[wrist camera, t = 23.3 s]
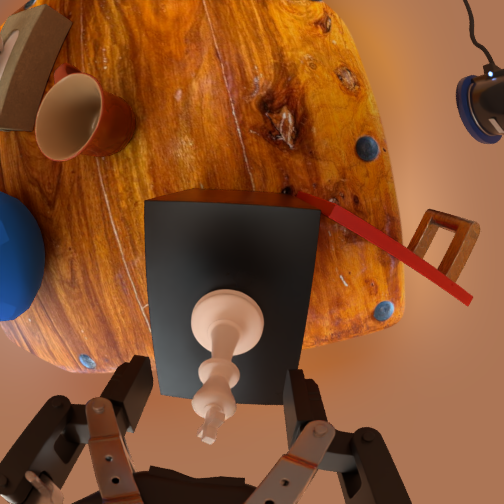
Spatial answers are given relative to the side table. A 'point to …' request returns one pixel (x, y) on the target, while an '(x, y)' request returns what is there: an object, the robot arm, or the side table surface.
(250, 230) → the dark brown cabinet
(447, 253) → the door
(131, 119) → the mug
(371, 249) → the side table surface
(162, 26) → the side table surface
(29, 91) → the tissue box
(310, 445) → the robot arm
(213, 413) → the chess piece
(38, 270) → the vase
